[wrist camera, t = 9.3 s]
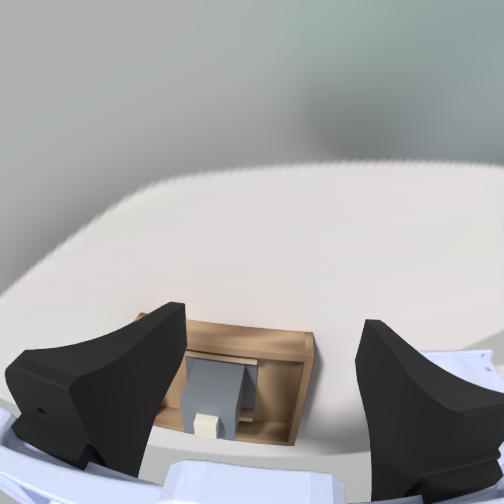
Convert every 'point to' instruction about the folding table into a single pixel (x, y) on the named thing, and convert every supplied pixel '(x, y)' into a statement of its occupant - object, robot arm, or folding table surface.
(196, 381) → the plug
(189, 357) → the caddy
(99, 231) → the folding table surface
